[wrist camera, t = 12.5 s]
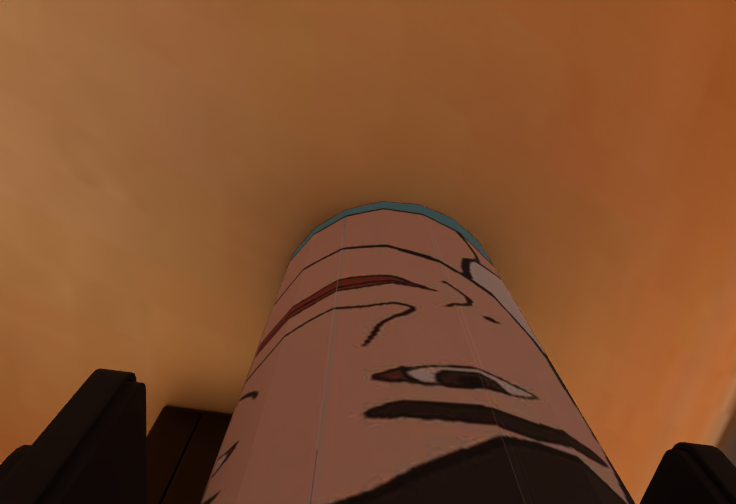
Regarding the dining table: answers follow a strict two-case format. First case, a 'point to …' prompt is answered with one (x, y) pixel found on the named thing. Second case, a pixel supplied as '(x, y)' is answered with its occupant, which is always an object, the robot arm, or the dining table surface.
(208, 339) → the dining table surface
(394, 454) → the cup
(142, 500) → the robot arm
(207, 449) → the cup stand
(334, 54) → the dining table surface
